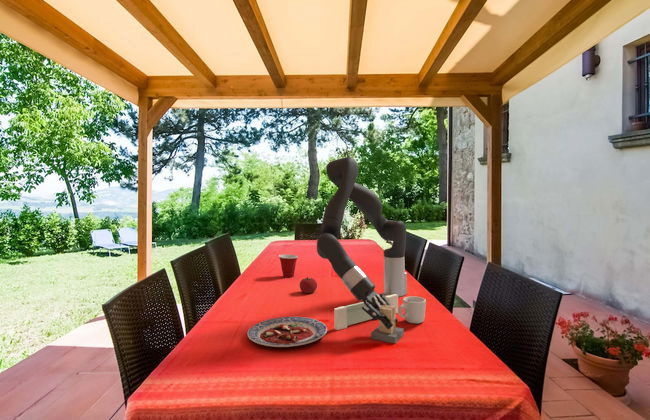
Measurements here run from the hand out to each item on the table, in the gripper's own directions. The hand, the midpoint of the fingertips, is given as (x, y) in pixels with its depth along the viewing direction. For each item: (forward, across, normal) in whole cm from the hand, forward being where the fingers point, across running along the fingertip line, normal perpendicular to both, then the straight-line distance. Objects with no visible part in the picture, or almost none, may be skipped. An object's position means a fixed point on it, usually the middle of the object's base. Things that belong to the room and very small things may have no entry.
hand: (393, 324), depth 118 cm
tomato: (-35, +34, +41) cm, 64 cm away
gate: (-7, +10, +13) cm, 18 cm away
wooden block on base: (+2, 0, +4) cm, 5 cm away
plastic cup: (-55, +57, +61) cm, 100 cm away
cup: (+4, +16, +3) cm, 17 cm away
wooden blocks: (-6, +12, +12) cm, 18 cm away
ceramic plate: (-19, -14, +25) cm, 34 cm away
